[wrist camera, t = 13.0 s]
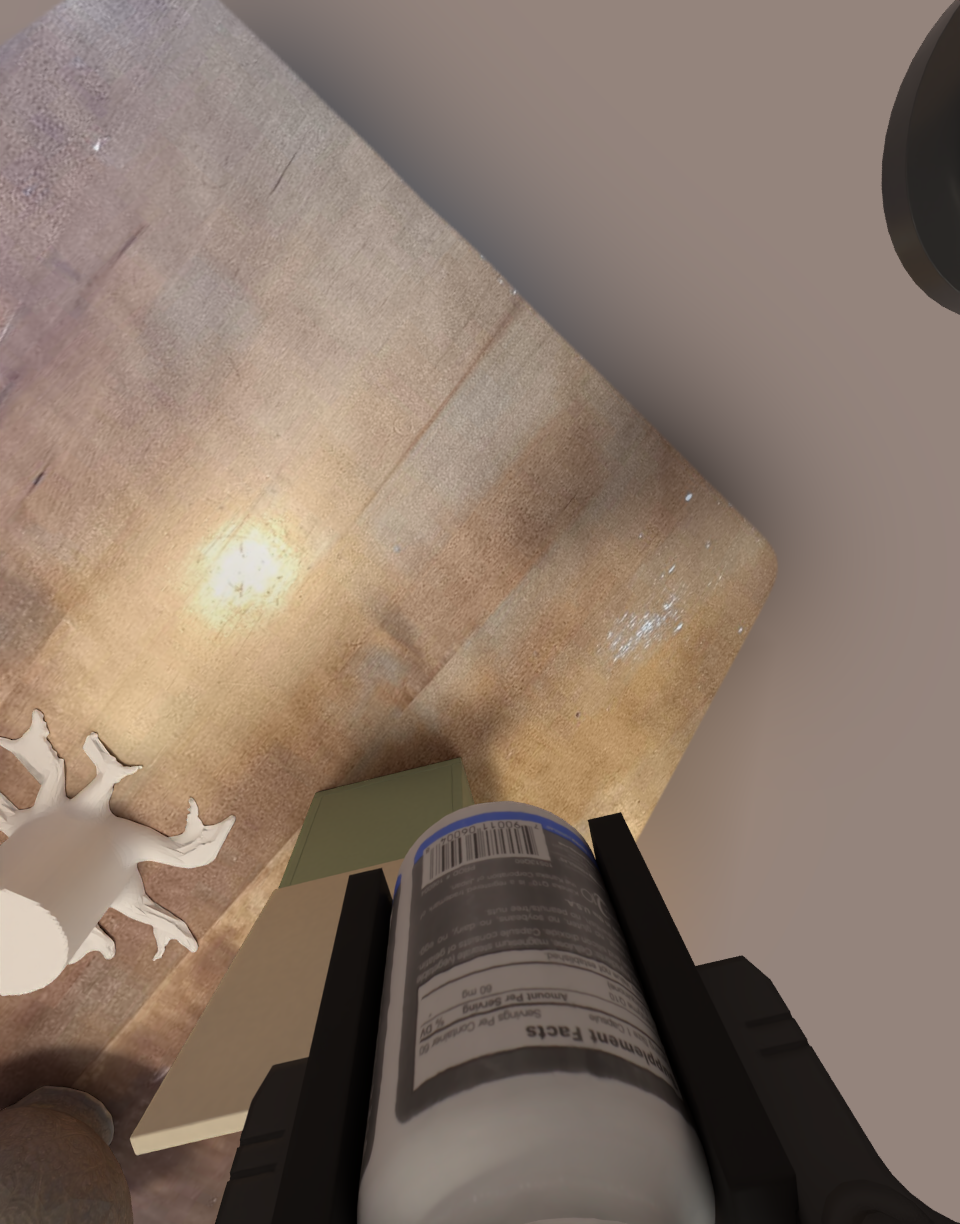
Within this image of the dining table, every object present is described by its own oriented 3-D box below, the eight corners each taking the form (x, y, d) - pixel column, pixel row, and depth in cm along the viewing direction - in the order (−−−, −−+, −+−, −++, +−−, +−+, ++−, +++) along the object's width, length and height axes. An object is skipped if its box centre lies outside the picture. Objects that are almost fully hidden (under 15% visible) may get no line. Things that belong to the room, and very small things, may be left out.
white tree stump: (-15, 677, 43) (-138, 738, 34) (280, 824, 48) (242, 911, 39) (-117, 887, 47) (-248, 990, 38) (162, 1001, 52) (103, 1116, 43)
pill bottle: (534, 986, 14) (651, 1708, 6) (361, 921, 13) (226, 1661, 5) (636, 841, 13) (944, 1482, 5) (455, 761, 12) (471, 1374, 4)
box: (500, 894, 51) (513, 1007, 41) (366, 926, 51) (345, 1047, 41) (461, 756, 47) (464, 844, 37) (315, 792, 47) (277, 889, 37)
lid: (460, 1080, 21) (455, 1061, 21) (134, 1157, 21) (127, 1139, 21) (466, 854, 36) (463, 843, 36) (277, 900, 36) (273, 889, 36)
